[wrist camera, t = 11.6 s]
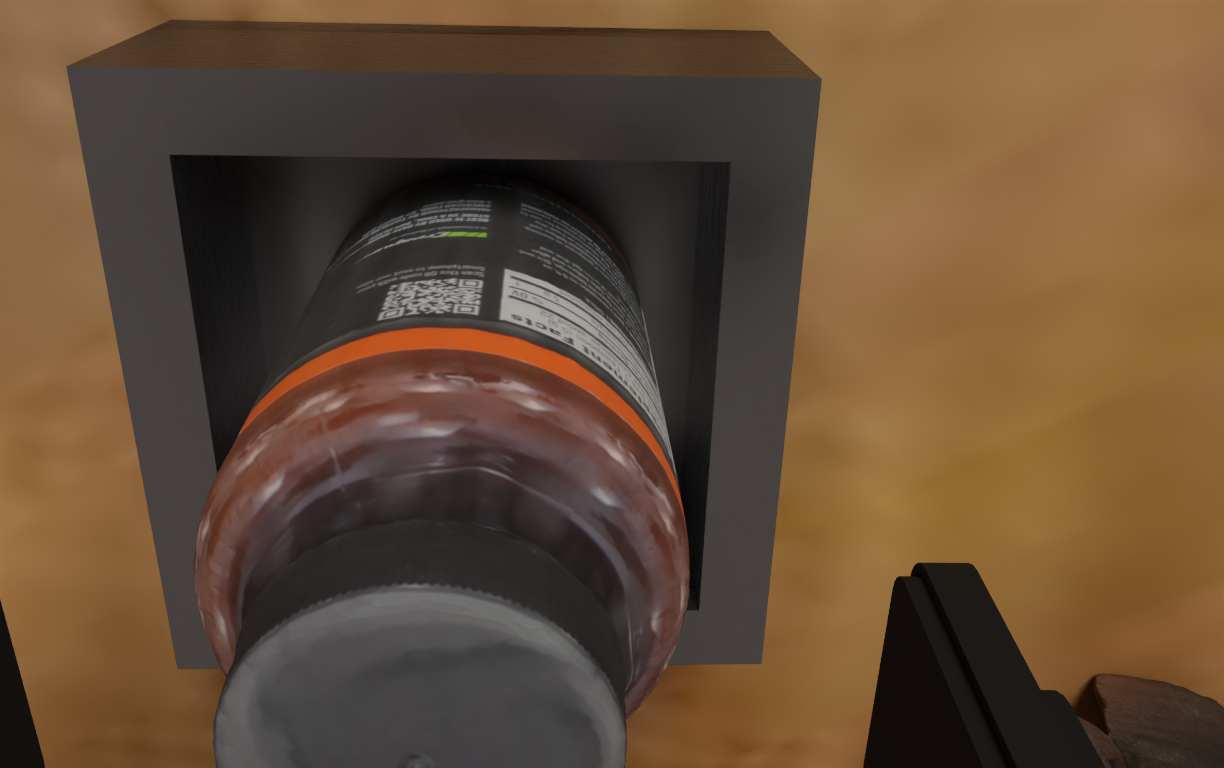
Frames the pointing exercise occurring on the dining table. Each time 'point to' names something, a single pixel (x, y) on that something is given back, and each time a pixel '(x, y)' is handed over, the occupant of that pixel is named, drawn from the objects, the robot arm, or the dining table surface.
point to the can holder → (432, 148)
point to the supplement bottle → (449, 502)
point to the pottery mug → (1155, 725)
